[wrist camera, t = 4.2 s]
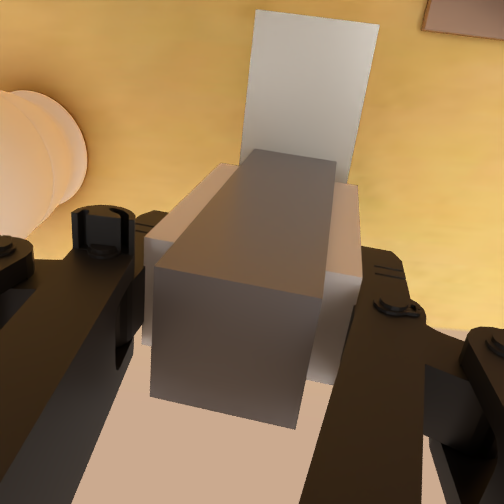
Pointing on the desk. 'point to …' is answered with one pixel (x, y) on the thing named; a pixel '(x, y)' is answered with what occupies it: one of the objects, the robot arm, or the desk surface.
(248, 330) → the paddle
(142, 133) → the desk surface
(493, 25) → the board
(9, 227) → the jar
